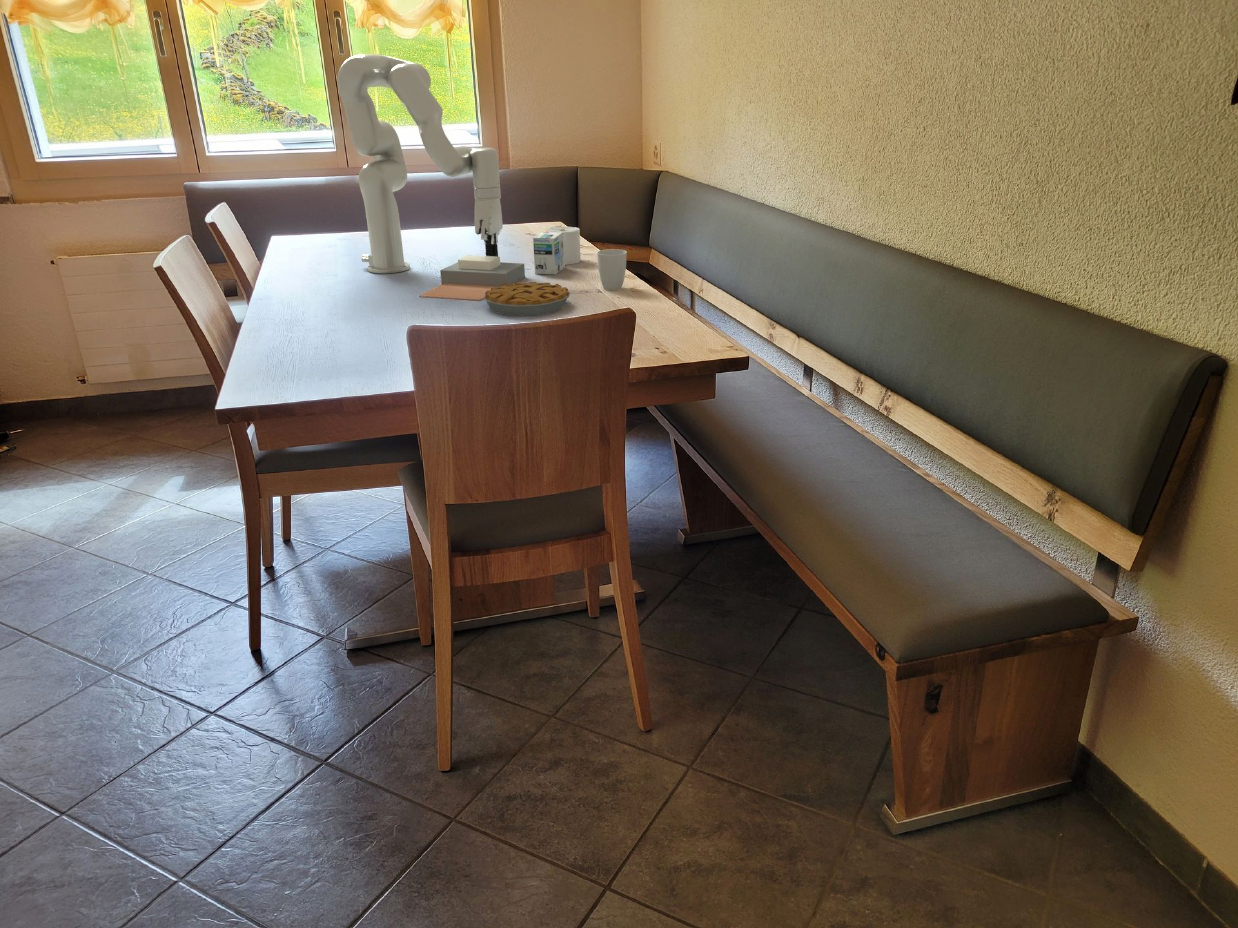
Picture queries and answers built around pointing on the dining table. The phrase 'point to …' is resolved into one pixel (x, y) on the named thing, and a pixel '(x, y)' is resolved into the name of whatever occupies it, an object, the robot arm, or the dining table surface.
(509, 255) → the dining table surface
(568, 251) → the toilet tissue
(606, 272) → the cup
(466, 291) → the mat
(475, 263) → the cream rectangular block
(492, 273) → the grey flat slab
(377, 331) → the dining table surface
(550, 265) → the light bulb box
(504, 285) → the pie
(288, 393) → the dining table surface
